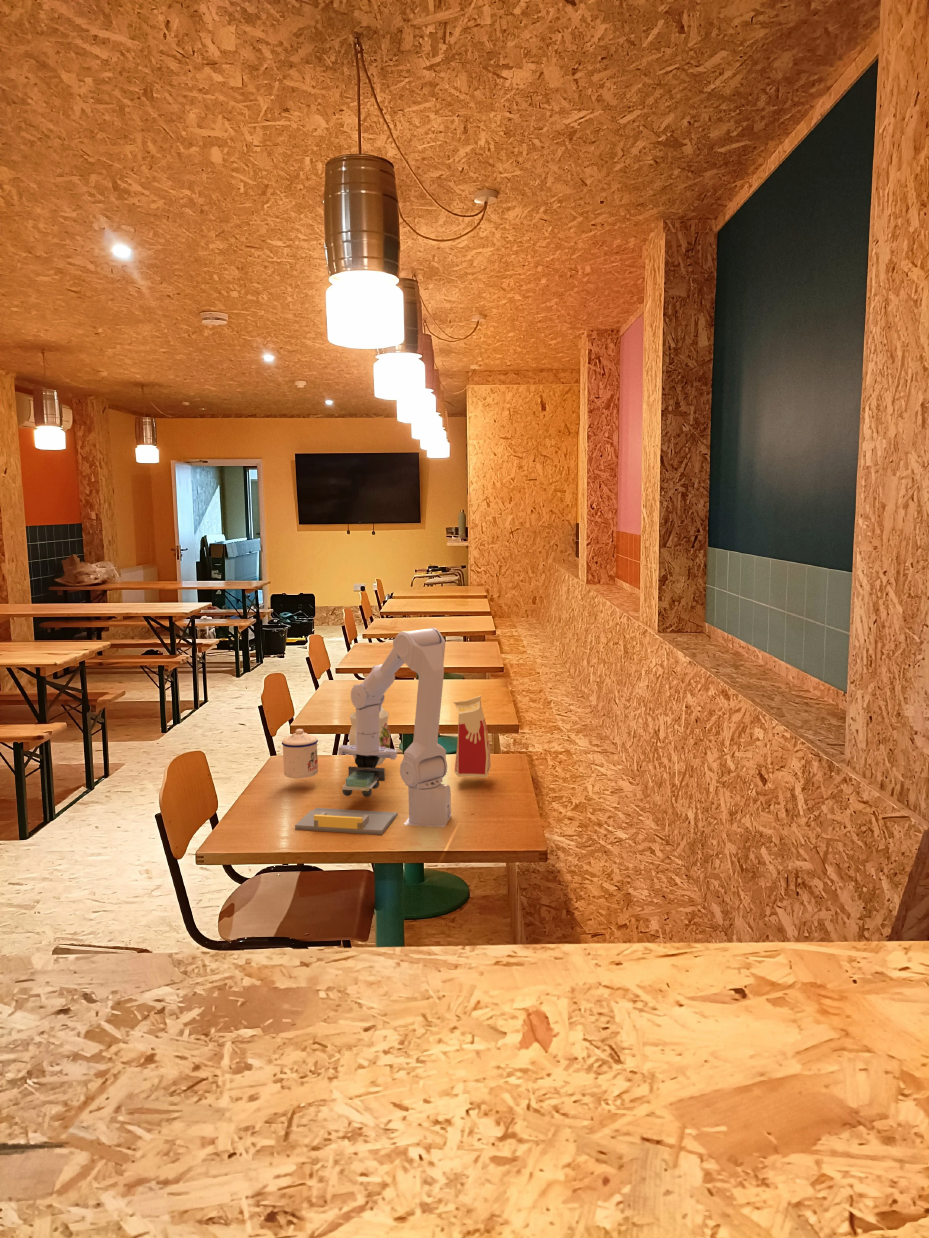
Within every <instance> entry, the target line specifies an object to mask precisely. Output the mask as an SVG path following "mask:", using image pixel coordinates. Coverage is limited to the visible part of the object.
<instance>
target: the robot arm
mask: <svg viewBox="0 0 929 1238" xmlns="http://www.w3.org/2000/svg"><path fill="white" fill-rule="evenodd" d="M441 633H442V632H440V630H439V629H437V628H436V627H430V628H427V629H426V628H424V629H417V630H409V631H405V630H404V631H403V630H402V631H400V632H398V633H397V635H396V636H395V638H394V639H392V648H391V650H390V651H389V653H388V655H387V657H386V658H385V659H384V662H382V663H381V664H377V665H373V666H372V668H371V671H370V672H369V674H368V675H367V676H366V677H365V678H364V679H363V681H362V682H361V683H359V684H358V683H357V684H354V685H353V687H352V688H351V691H350V701H351V703H352V705H353V706H354V707H355V712H356V745H350V744H348V745H347V744H346V745H345V744H341V745H340V746H338V748H337V749H338V751H337V752H338V755H339V756H343V755H347V756H348V755H350V756H353V755H356V759H354V764H355V765H356V767H372V768H377V766H378V765H377V763H378V761H379V759H380V757H381V758H385V759H390V760H396V759H397V758H398V749H394V748H390V747H389V748H384V747H380V746H379V712H381V707H383V704H384V701H385V698H386V697H385V693H386V692H387V691H388V689H389V688H390V687H391V686H392V685H393V684H394V682H395V680H396V675H395V673H397V671H398V670H400V668H401V667H402V666H404V664H405V665H406V666H407V668H409V669H410V670H411V671H412V672H414V673H416V674H417V676H418V680H417V681H418V682H417V683H418V684H417V692H416V704H415V705H416V706H415V719H414V727H413V728H414V729H413V730H414V731H413V741H412V743H411V744H409V746H408V747H407V748H406V749H405V750H404V752H403V758H402V761H401V762H400V766H399V775H400V778H401V781H403V783H404V784H405V786H407V788H408V789H407V790H408V791H407V792H408V794H407V795H408V818H407V819H406V820H405V821H404V823H403V825H404V826H413V827H414V826H415V827H430V828H431V827H432V828H445V827H446V826H447V824H448V823H449V821H450V819H451V817H452V803H451V801H452V800H451V799H452V797H451V796H452V794H451V786H450V785H449V784H443V778H444V777H445V776H446V775H447V772H448V762H447V749H445V748H444V747H443V746H442V745H441V744H439V743H438V740H439V739H438V738H439V730H440V719H441V708H442V697H443V685H444V676H445V667H444V666H445V665H444V661H445V651H446V650H445V649H446V640H445V638H444V636H443V635H442V634H441ZM376 765H377V766H376Z"/></svg>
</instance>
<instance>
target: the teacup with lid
mask: <svg viewBox="0 0 929 1238" xmlns="http://www.w3.org/2000/svg"><path fill="white" fill-rule="evenodd" d="M318 742H319V740H318V738H317V736H315V735H312V734H308V733H307V732H304V729H303V728H296V729H295V733H292V734H291V735H289V736H287V737H284V738H283V739H282V741H281V745H282V757H283V758H282V759H283V775H284V776H285V777H287V778H290V779H308V778H311V777H314V776H316V775H317V774H318V772H319V766H318V765H319V764H318V759H319V758H318Z"/></svg>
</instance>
